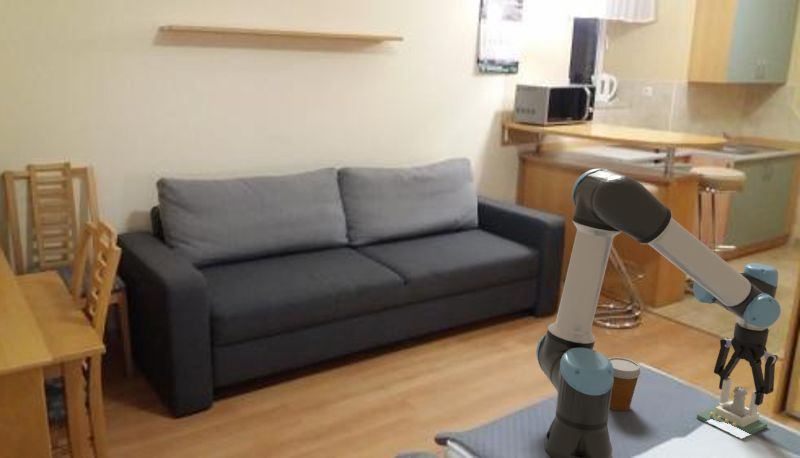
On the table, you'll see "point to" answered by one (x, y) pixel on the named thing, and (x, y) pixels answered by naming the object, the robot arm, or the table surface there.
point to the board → (733, 418)
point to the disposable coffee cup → (623, 382)
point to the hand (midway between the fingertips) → (737, 408)
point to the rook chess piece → (739, 402)
